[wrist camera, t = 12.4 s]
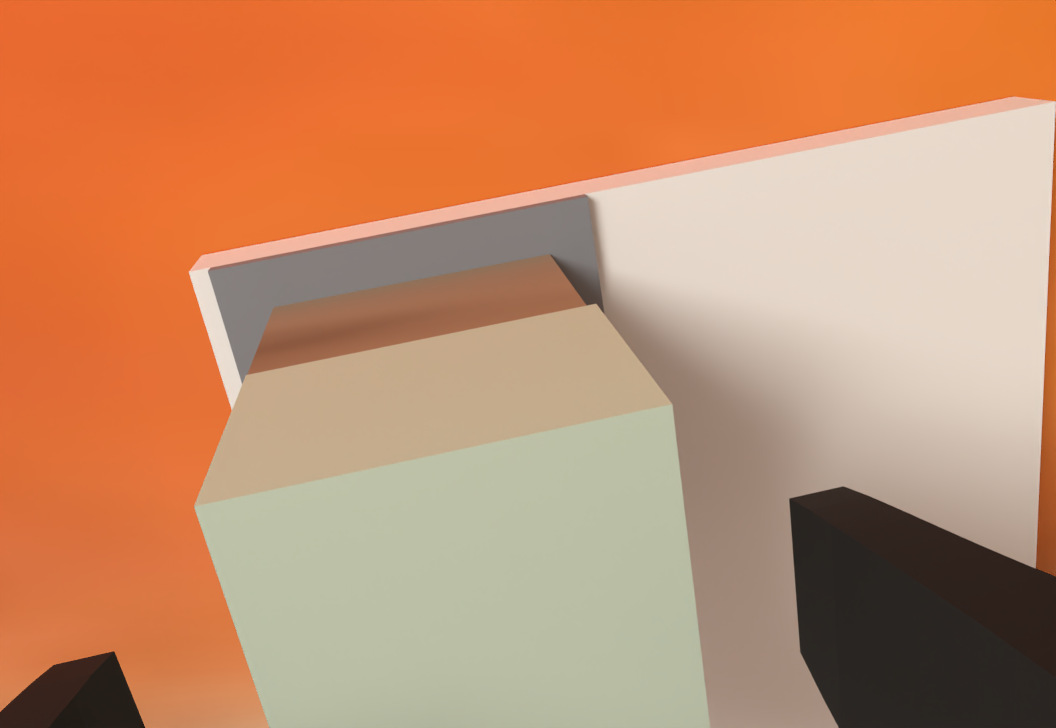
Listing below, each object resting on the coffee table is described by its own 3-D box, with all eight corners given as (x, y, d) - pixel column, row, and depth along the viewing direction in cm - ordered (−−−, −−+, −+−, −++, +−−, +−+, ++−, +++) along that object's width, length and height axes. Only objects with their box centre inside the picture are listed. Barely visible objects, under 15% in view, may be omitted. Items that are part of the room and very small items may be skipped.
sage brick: (652, 690, 13) (727, 879, 10) (361, 759, 12) (354, 975, 9) (596, 304, 11) (672, 404, 8) (245, 375, 10) (193, 506, 7)
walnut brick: (599, 576, 15) (646, 699, 13) (361, 629, 15) (355, 767, 12) (549, 253, 13) (593, 314, 11) (274, 307, 13) (243, 383, 10)
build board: (992, 892, 21) (1026, 939, 20) (440, 1038, 20) (443, 1097, 19) (1013, 96, 15) (1065, 102, 14) (201, 255, 14) (185, 275, 13)
